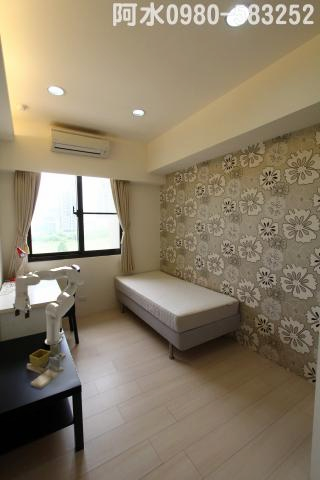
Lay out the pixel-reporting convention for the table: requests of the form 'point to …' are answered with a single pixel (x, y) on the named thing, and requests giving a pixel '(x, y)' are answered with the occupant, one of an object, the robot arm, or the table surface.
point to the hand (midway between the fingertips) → (22, 316)
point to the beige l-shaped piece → (49, 372)
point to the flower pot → (39, 358)
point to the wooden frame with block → (53, 352)
